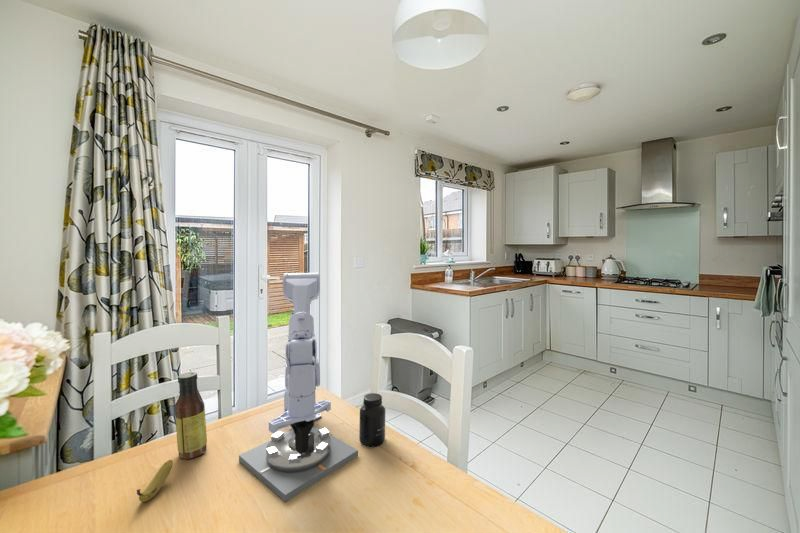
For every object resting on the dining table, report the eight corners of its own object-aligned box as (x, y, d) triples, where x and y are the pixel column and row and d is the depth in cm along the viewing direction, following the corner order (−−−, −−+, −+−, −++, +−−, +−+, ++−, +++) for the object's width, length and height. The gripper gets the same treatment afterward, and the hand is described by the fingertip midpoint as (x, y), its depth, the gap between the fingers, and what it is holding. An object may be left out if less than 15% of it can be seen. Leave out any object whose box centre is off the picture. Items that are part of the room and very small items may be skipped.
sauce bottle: (212, 446, 89) (210, 370, 87) (195, 461, 82) (193, 380, 81) (188, 444, 89) (186, 369, 88) (170, 459, 83) (167, 378, 82)
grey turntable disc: (257, 448, 85) (257, 421, 85) (314, 428, 94) (314, 404, 94) (279, 481, 73) (279, 450, 73) (342, 455, 83) (342, 427, 82)
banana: (166, 475, 78) (165, 458, 77) (177, 475, 78) (176, 458, 77) (131, 510, 67) (130, 490, 67) (144, 510, 67) (143, 490, 67)
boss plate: (239, 461, 83) (238, 454, 83) (309, 427, 98) (309, 421, 98) (285, 502, 70) (285, 494, 70) (358, 455, 85) (358, 449, 85)
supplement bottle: (384, 448, 88) (384, 403, 88) (357, 448, 89) (357, 402, 88) (386, 433, 95) (386, 391, 94) (361, 433, 95) (361, 391, 95)
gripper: (280, 408, 69) (280, 474, 70) (338, 387, 80) (338, 444, 81) (263, 398, 74) (264, 459, 75) (321, 379, 85) (321, 433, 85)
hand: (301, 450), depth 78 cm, fingers closed, pressing on grey turntable disc
